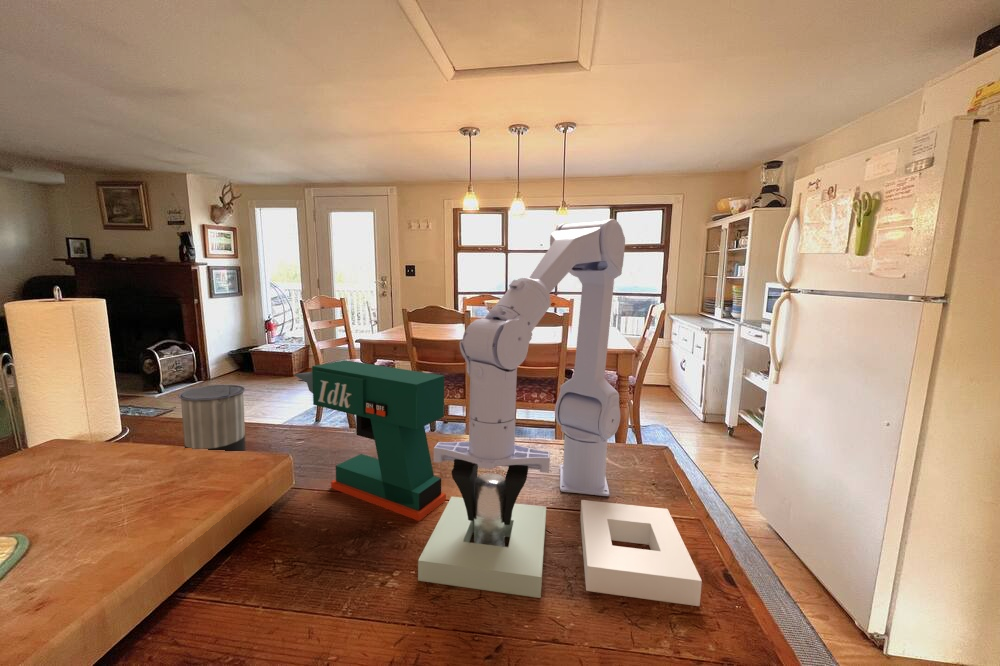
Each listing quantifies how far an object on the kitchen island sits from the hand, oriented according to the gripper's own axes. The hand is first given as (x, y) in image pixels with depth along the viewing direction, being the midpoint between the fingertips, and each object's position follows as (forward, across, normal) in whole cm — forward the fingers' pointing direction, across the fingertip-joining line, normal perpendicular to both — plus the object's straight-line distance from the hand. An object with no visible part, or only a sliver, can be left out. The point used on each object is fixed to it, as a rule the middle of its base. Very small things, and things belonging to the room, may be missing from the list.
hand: (490, 518), depth 51 cm
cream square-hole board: (+4, +18, +2) cm, 19 cm away
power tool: (+4, -25, +12) cm, 28 cm away
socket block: (+4, 0, 0) cm, 4 cm away
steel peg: (+4, 0, 0) cm, 4 cm away
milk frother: (+4, -53, +8) cm, 54 cm away
